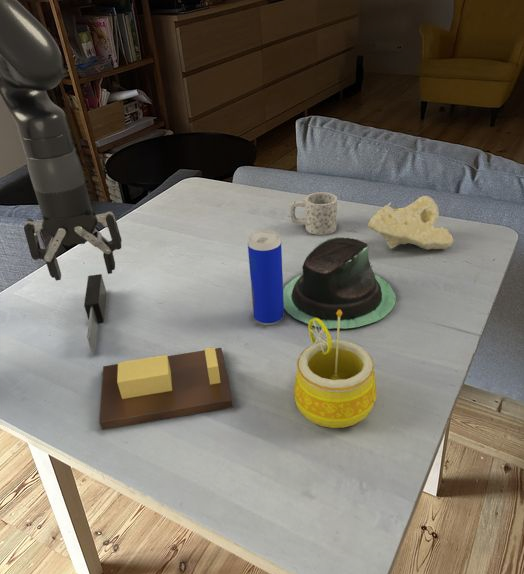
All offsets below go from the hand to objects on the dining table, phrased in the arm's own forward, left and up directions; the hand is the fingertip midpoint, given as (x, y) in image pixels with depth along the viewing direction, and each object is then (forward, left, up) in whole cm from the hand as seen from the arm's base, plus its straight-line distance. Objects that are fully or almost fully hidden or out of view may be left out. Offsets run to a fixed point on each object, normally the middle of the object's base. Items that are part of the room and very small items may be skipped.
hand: (84, 274), depth 91 cm
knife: (+1, -4, -7) cm, 8 cm away
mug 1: (+46, +21, -8) cm, 51 cm away
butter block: (+9, -24, -6) cm, 27 cm away
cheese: (+61, +6, -8) cm, 61 cm away
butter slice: (+19, -24, -6) cm, 31 cm away
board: (+12, -24, -7) cm, 28 cm away
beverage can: (+30, -10, -8) cm, 32 cm away
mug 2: (+35, -32, -8) cm, 48 cm away
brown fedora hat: (+43, -7, -8) cm, 44 cm away
